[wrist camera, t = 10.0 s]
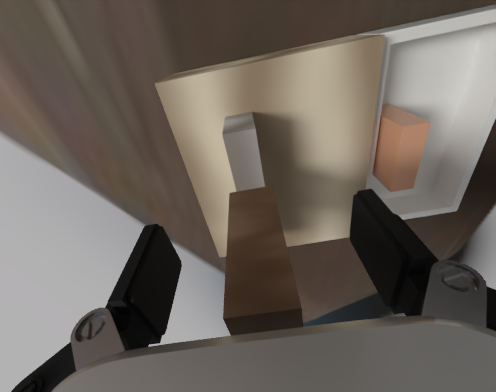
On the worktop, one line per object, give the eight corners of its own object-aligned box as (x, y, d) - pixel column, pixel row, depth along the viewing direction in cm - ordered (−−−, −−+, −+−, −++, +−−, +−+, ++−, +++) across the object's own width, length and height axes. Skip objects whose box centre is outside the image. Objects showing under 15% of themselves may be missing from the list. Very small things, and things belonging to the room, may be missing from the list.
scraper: (258, 110, 13) (294, 226, 5) (275, 225, 18) (307, 378, 10) (218, 118, 14) (188, 244, 5) (246, 230, 19) (253, 384, 10)
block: (366, 107, 17) (387, 103, 17) (360, 162, 19) (379, 159, 19) (403, 127, 13) (430, 122, 13) (390, 192, 16) (413, 188, 16)
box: (492, 5, 14) (545, -2, 12) (432, 191, 22) (456, 211, 20) (356, 34, 15) (380, 33, 12) (344, 206, 23) (358, 226, 20)
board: (352, 35, 15) (384, 34, 12) (341, 206, 23) (359, 235, 19) (172, 74, 16) (154, 83, 12) (222, 226, 24) (219, 257, 20)
